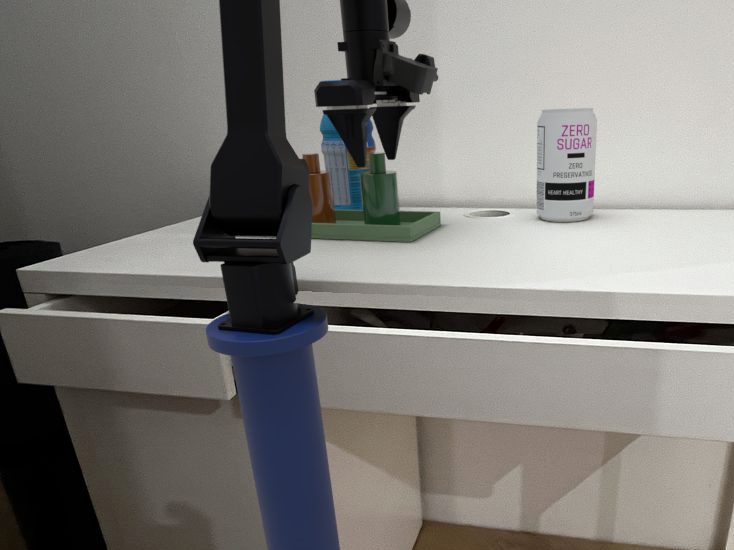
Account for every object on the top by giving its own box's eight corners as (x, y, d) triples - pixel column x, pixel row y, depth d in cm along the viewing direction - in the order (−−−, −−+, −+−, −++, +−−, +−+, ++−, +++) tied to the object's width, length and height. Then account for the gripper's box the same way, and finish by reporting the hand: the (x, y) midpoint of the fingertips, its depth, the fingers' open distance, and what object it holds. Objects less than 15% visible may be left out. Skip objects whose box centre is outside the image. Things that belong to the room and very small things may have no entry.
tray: (410, 242, 80) (409, 226, 79) (209, 234, 89) (206, 220, 88) (440, 225, 89) (440, 211, 89) (256, 220, 99) (254, 207, 98)
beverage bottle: (321, 218, 98) (304, 80, 90) (338, 209, 106) (324, 81, 98) (373, 218, 97) (361, 78, 89) (386, 209, 104) (376, 79, 97)
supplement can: (562, 211, 97) (564, 108, 92) (604, 217, 91) (609, 107, 86) (525, 218, 92) (525, 110, 87) (566, 225, 86) (570, 110, 81)
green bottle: (391, 232, 83) (385, 154, 79) (358, 231, 85) (350, 155, 81) (406, 225, 88) (401, 151, 84) (374, 224, 89) (367, 151, 85)
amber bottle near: (325, 230, 86) (316, 155, 83) (294, 229, 88) (284, 155, 84) (343, 223, 91) (335, 152, 87) (313, 222, 92) (304, 152, 88)
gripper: (394, 21, 67) (405, 171, 73) (451, 34, 83) (456, 156, 89) (304, 28, 70) (321, 171, 76) (376, 39, 86) (385, 156, 92)
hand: (377, 163), depth 83 cm, fingers open, 9 cm apart
